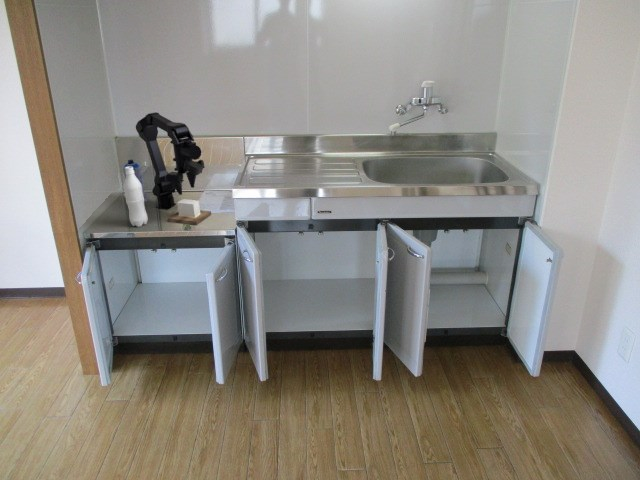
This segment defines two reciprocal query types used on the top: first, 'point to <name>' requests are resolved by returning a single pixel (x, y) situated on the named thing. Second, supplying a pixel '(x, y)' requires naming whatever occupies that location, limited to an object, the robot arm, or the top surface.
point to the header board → (189, 218)
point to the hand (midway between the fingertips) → (186, 191)
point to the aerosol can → (136, 174)
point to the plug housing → (188, 208)
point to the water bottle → (134, 198)
